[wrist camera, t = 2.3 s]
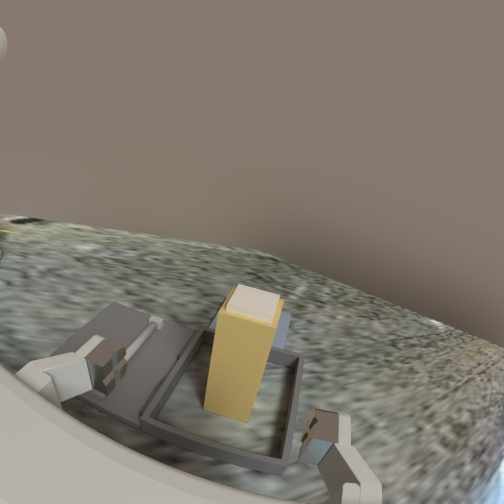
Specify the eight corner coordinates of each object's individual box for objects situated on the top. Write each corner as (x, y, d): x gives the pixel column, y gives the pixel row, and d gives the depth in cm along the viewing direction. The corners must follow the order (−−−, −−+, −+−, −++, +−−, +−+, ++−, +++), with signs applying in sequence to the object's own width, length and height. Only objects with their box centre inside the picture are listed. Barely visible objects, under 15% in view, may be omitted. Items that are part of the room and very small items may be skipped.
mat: (204, 337, 38) (205, 332, 38) (226, 301, 47) (227, 296, 47) (281, 359, 37) (282, 354, 36) (290, 318, 46) (291, 314, 46)
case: (38, 372, 25) (34, 359, 24) (113, 306, 39) (113, 294, 39) (281, 476, 21) (287, 466, 21) (300, 366, 36) (304, 354, 35)
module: (203, 409, 27) (219, 305, 23) (216, 380, 31) (235, 280, 27) (247, 423, 27) (278, 321, 22) (256, 392, 31) (285, 294, 26)
